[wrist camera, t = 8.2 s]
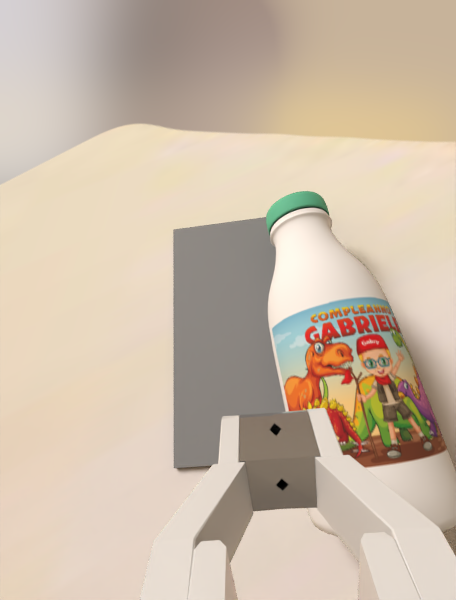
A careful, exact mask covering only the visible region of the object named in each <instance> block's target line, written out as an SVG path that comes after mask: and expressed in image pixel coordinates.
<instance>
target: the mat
mask: <svg viewBox="0 0 456 600" xmlns="http://www.w3.org/2000/svg"><path fill="white" fill-rule="evenodd" d="M275 263H276V247H275V246H273V245H272V243H271V241H270V235H269V232H268V229H267V224H266V217H264V218H257V219H249V220H242V221H234V222H227V223H219V224H212V225H204V226H197V227H190V228H182V229H175V230H174V468H183V467H198V466H212V465H213V464H218V460H219V446H220V433H221V420H222V417H223V416H236V415H246V414H263V413H276V412H286V411H285V406H284V401H283V396H282V392H281V387H280V382H279V377H278V372H277V367H276V362H275V357H274V352H273V347H272V341H271V335H270V329H269V322H268V298H269V292H270V287H271V283H272V279H273V275H274V270H275Z"/></svg>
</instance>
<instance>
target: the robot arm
mask: <svg viewBox="0 0 456 600" xmlns="http://www.w3.org/2000/svg"><path fill="white" fill-rule="evenodd" d="M287 508H317V510H318V511H319V512H320V513H321V515H322V516H323V517H324V519H325V520H326V521H327V522H328V524H329V525H330V526H331V527H332V529H333V530H334V531H335V532H336V534H337V535H338V536H339V538H340V539H341V540H342V541H343V543H344V544H345V545H346V546H347V548H348V549H349V550H350V551H351V553H352V554H353V555H354V557H355V558H356V559H357V560H358V562H359V563H360V564H359V586H358V600H456V556H455V554H454V552H453V551H452V549H451V547H450V545H449V544H448V542H447V540H446V538H445V537H444V535H443V533H442V531H441V530H440V528H439V527H438V526H436V525H435V524H434V523H433V522H432V521H430V520H429V519H428V518H427V517H425V516H424V515H423V514H422V513H420V512H419V511H418V510H417V509H415V508H414V507H413V506H412V505H410V504H409V503H408V502H407V501H406V500H404V499H403V498H402V497H401V496H399V495H398V494H397V493H396V492H394V491H393V490H392V489H391V488H389V487H388V486H387V485H386V484H385V483H383V482H382V481H381V480H380V479H378V478H377V477H376V476H375V475H373V474H372V473H371V472H370V471H368V470H367V469H366V468H365V467H364V466H362V465H361V464H360V463H359V462H357V461H356V460H355V459H354V458H352V457H351V456H350V455H343V453H342V450H341V448H340V445H339V442H338V440H337V437H336V434H335V432H334V429H333V426H332V424H331V421H330V418H329V416H328V413H327V410H326V409H325V408H317V409H307V410H298V411H287V412H276V413H263V414H246V415H236V416H223V417H222V420H221V433H220V446H219V460H218V464H213V465H212V466H211V468H210V469H209V470H208V471H207V473H206V474H205V475H204V477H203V478H202V479H201V480H200V482H199V483H198V484H197V486H196V487H195V488H194V490H193V491H192V492H191V493H190V495H189V496H188V497H187V499H186V500H185V501H184V502H183V504H182V505H181V506H180V508H179V509H178V510H177V512H176V513H175V514H174V515H173V517H172V518H171V519H170V521H169V522H168V523H167V524H166V526H165V527H164V528H163V530H162V531H161V532H160V534H159V535H158V536H157V537H156V539H155V540H154V541H153V545H152V550H151V554H150V558H149V562H148V566H147V571H146V575H145V579H144V583H143V587H142V592H141V596H140V600H238V598H237V593H236V589H235V584H234V580H233V575H232V571H231V566H230V562H231V560H232V558H233V556H234V554H235V552H236V549H237V547H238V545H239V543H240V541H241V539H242V537H243V535H244V532H245V530H246V528H247V526H248V524H249V522H250V520H251V517H252V515H253V511H262V510H274V509H287Z"/></svg>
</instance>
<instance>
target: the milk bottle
mask: <svg viewBox="0 0 456 600" xmlns="http://www.w3.org/2000/svg"><path fill="white" fill-rule="evenodd" d="M266 224H267V229H268V232H269V235H270V241H271V243H272V245H273V246H275V247H276V263H275V270H274V275H273V279H272V283H271V287H270V292H269V298H268V322H269V329H270V335H271V341H272V347H273V352H274V357H275V362H276V367H277V372H278V377H279V382H280V387H281V392H282V396H283V401H284V406H285V411H286V412H287V411H298V410H307V409H317V408H325V409H326V410H327V413H328V416H329V418H330V421H331V424H332V426H333V429H334V432H335V434H336V437H337V440H338V442H339V445H340V448H341V450H342V453H343V455H350V456H351V457H352V458H354V459H355V460H356V461H357V462H359V463H360V464H361V465H362V466H364V467H365V468H366V469H367V470H368V471H370V472H371V473H372V474H373V475H375V476H376V477H377V478H378V479H380V480H381V481H382V482H383V483H385V484H386V485H387V486H388V487H389V488H391V489H392V490H393V491H394V492H396V493H397V494H398V495H399V496H401V497H402V498H403V499H404V500H406V501H407V502H408V503H409V504H410V505H412V506H413V507H414V508H415V509H417V510H418V511H419V512H420V513H422V514H423V515H424V516H425V517H427V518H428V519H429V520H430V521H432V522H433V523H434V524H435V525H436V526H438V527H439V528H440V530H441V531H442V532H443V531H446V530H449V529H452V528H454V527H455V526H456V470H455V468H454V465H453V463H452V460H451V457H450V455H449V452H448V450H447V447H446V445H445V442H444V439H443V437H442V434H441V432H440V429H439V427H438V424H437V422H436V419H435V416H434V414H433V411H432V409H431V406H430V404H429V401H428V399H427V396H426V394H425V391H424V388H423V386H422V383H421V381H420V378H419V376H418V373H417V371H416V368H415V366H414V363H413V361H412V358H411V356H410V353H409V351H408V348H407V346H406V343H405V341H404V338H403V336H402V333H401V331H400V328H399V326H398V324H397V321H396V319H395V317H394V314H393V312H392V310H391V308H390V305H389V303H388V301H387V298H386V296H385V294H384V292H383V291H382V289H381V287H380V285H379V283H378V282H377V280H376V279H375V278H374V276H373V275H372V274H371V272H370V271H369V270H368V269H367V268H366V267H365V266H364V265H363V264H362V263H361V262H360V261H359V260H358V259H357V258H356V257H354V256H353V255H352V254H351V253H350V252H349V251H348V250H347V249H346V248H345V247H344V246H342V244H341V243H340V242H339V241H338V240H337V238H336V237H335V236H334V234H333V233H332V231H331V227H332V220H331V218H330V217H329V212H328V208H327V206H326V203H325V201H324V199H323V198H322V197H321V196H320V195H319V194H317V193H314V192H309V191H303V192H296V193H292V194H289V195H287V196H285V197H283V198H281V199H280V200H278V201H277V202H276V203H274V204H273V205H272V206H271V208H270V209H269V211H268V213H267V216H266ZM307 511H308V515H309V517H310V518H311V520H312V522H313V523H314V525H315V526H316V527H317V528H318V529H319V530H321V531H324V532H326V533H328V534H332V535H335V536H338V535H337V534H336V532H335V531H334V530H333V529H332V527H331V526H330V525H329V524H328V522H327V521H326V520H325V519H324V517H323V516H322V515H321V513H320V512H319V511H318V510H317V508H307Z"/></svg>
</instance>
